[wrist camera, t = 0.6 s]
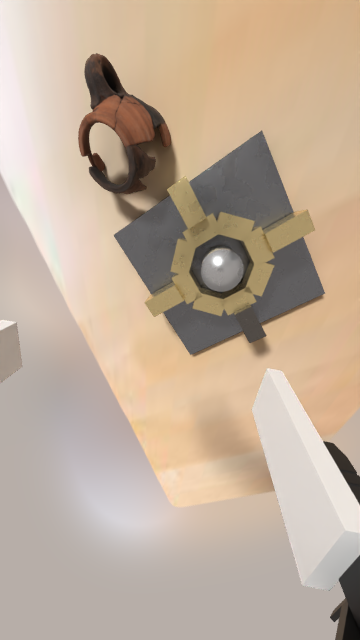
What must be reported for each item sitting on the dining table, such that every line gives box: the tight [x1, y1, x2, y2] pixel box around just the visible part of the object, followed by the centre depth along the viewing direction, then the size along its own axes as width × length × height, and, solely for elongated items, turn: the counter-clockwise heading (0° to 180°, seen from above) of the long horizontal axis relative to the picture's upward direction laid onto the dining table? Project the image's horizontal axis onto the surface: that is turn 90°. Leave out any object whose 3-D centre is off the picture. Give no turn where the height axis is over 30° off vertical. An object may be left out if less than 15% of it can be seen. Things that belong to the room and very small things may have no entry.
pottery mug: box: [78, 53, 171, 194], centre depth 26 cm, size 12×10×8 cm
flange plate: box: [114, 131, 325, 355], centre depth 30 cm, size 22×22×6 cm
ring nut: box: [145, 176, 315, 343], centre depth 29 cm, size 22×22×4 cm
